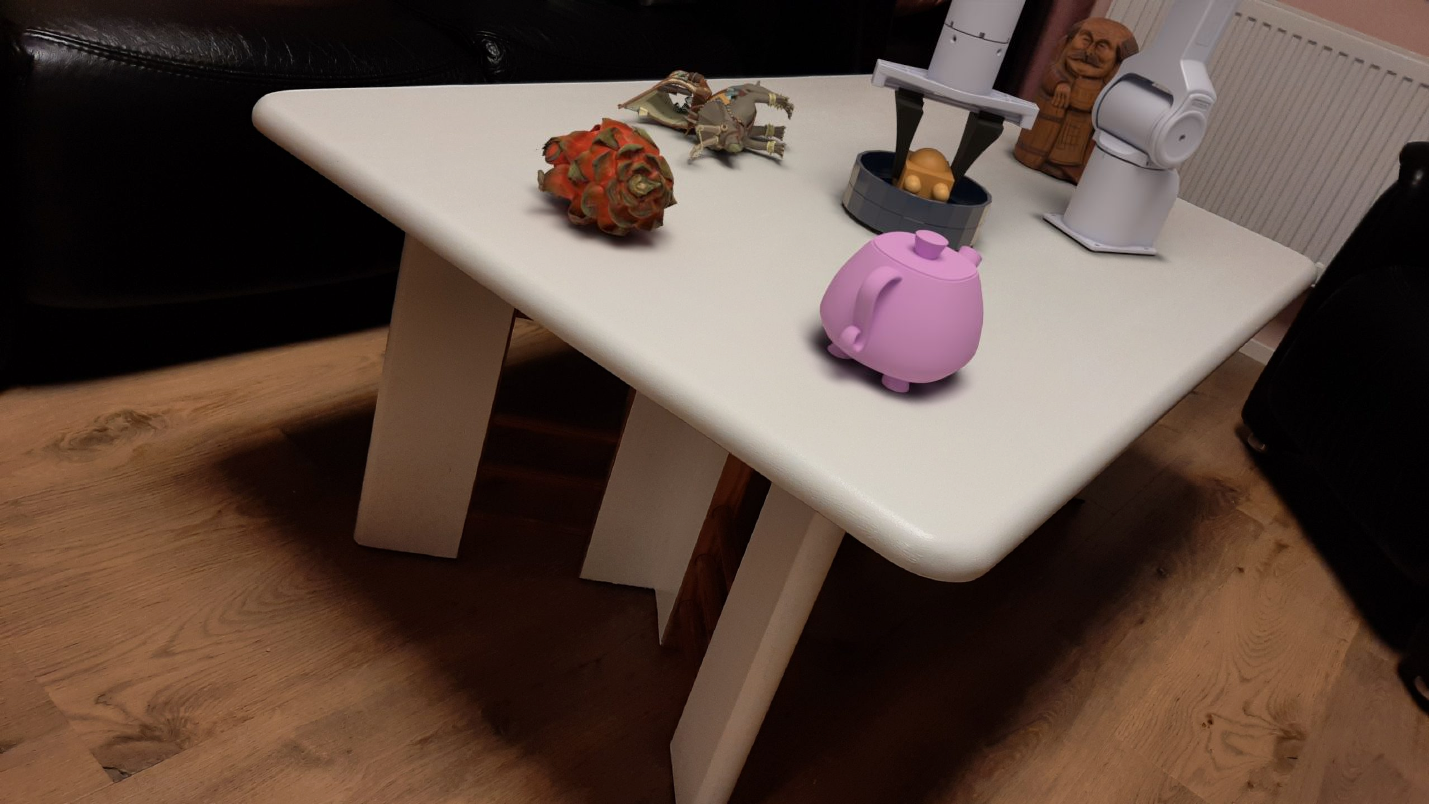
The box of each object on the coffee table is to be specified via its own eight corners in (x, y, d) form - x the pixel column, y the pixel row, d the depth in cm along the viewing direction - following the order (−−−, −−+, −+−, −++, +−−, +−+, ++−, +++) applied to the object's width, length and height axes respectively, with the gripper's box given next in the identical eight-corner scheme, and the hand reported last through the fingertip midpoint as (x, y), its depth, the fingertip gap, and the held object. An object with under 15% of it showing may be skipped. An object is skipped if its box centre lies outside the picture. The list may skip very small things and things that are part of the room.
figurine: (799, 135, 93) (614, 90, 92) (781, 197, 96) (603, 154, 95) (796, 69, 110) (639, 30, 108) (781, 124, 113) (629, 86, 111)
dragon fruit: (653, 281, 76) (536, 236, 82) (717, 200, 79) (599, 163, 85) (616, 199, 69) (491, 156, 75) (687, 114, 72) (561, 80, 78)
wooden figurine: (998, 155, 127) (1058, 5, 118) (1016, 149, 132) (1075, 4, 123) (1088, 192, 123) (1158, 39, 114) (1103, 184, 128) (1171, 37, 119)
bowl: (925, 199, 104) (940, 156, 102) (1000, 257, 95) (1019, 211, 93) (817, 189, 99) (832, 144, 96) (886, 250, 89) (904, 201, 87)
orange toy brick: (892, 180, 98) (908, 133, 96) (936, 193, 98) (954, 146, 96) (895, 208, 91) (913, 158, 89) (943, 221, 91) (962, 172, 89)
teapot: (769, 345, 68) (810, 214, 64) (887, 303, 79) (929, 188, 75) (898, 425, 63) (952, 290, 59) (1004, 368, 74) (1057, 251, 70)
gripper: (1050, 46, 92) (992, 190, 98) (892, 1, 91) (845, 148, 98) (1065, 63, 86) (1002, 215, 92) (896, 15, 85) (845, 171, 92)
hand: (921, 182), depth 95 cm, fingers closed on orange toy brick, 4 cm apart
